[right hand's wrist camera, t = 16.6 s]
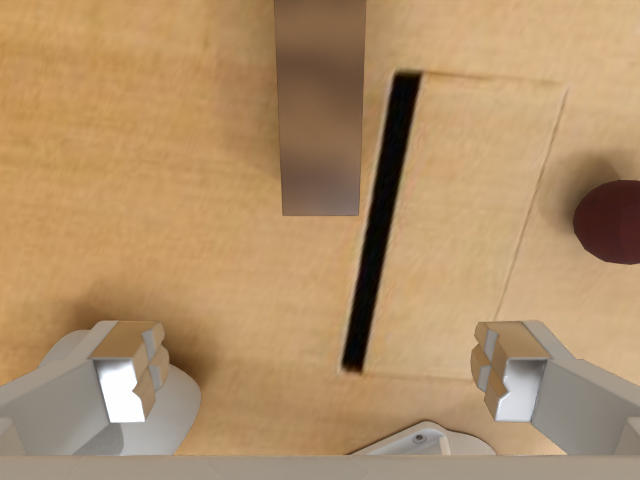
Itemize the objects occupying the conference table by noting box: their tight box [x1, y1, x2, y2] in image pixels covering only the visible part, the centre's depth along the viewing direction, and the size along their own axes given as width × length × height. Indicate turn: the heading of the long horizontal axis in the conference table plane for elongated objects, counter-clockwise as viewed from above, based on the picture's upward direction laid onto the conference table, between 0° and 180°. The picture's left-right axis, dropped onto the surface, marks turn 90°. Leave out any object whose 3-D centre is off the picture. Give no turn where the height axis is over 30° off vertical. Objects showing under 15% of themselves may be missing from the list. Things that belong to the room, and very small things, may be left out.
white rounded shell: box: [37, 330, 201, 455], centre depth 41 cm, size 22×23×15 cm
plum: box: [573, 180, 640, 265], centre depth 36 cm, size 7×8×7 cm
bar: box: [274, 0, 366, 216], centre depth 29 cm, size 28×6×9 cm, turn 0°
